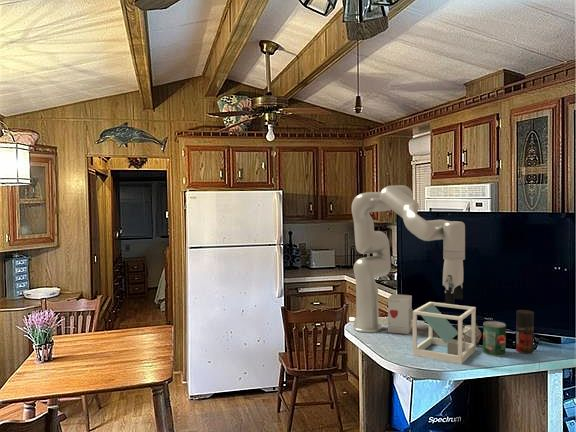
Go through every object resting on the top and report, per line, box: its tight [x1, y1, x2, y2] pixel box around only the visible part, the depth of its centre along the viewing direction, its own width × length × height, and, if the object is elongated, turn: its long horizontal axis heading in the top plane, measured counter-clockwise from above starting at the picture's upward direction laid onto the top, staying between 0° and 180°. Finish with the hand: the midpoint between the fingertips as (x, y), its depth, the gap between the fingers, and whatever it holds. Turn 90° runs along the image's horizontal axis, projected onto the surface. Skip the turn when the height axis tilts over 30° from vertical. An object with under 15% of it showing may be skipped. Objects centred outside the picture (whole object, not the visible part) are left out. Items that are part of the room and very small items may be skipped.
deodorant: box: [515, 309, 535, 355], centre depth 191 cm, size 6×6×15 cm
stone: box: [446, 338, 465, 355], centre depth 189 cm, size 5×5×5 cm
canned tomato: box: [482, 320, 507, 357], centre depth 190 cm, size 8×8×11 cm
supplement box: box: [387, 293, 413, 335], centre depth 221 cm, size 9×9×15 cm
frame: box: [412, 301, 477, 365], centre depth 191 cm, size 18×18×16 cm
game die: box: [462, 323, 483, 346], centre depth 201 cm, size 9×8×10 cm
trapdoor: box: [420, 304, 458, 343], centre depth 192 cm, size 14×14×1 cm
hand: (453, 301), depth 188 cm, fingers open, 9 cm apart
